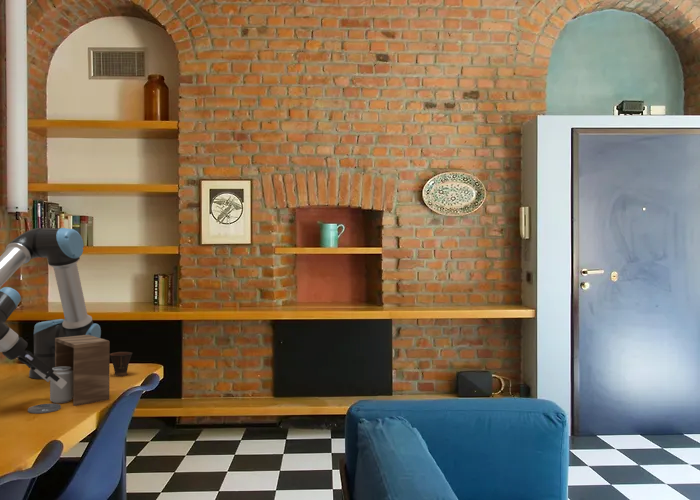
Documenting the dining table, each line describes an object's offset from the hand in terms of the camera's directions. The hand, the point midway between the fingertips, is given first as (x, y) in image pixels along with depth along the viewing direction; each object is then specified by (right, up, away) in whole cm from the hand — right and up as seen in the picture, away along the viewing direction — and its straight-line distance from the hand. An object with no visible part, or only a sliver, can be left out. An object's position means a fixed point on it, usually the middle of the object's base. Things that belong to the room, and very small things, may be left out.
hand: (57, 382), depth 213 cm
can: (+1, -7, +2) cm, 8 cm away
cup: (+6, -7, +43) cm, 44 cm away
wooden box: (+6, -7, +7) cm, 11 cm away
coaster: (0, -7, -9) cm, 11 cm away
